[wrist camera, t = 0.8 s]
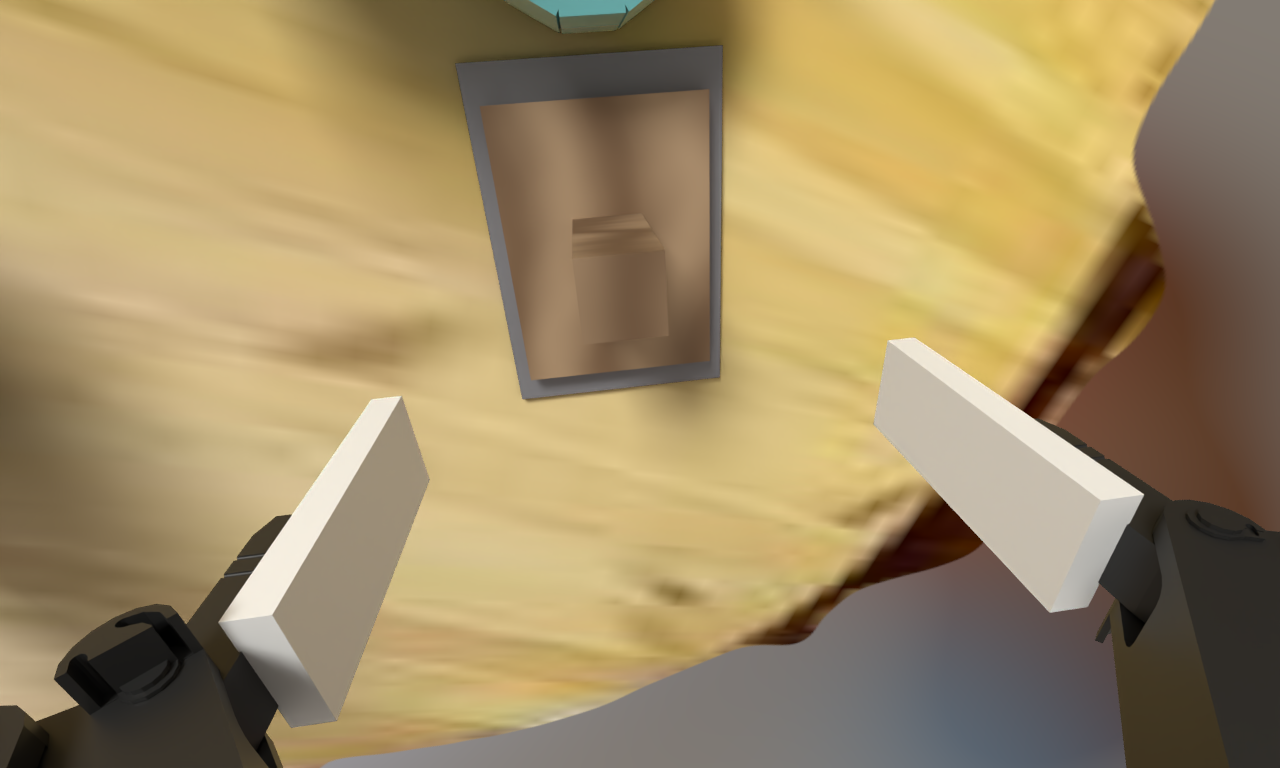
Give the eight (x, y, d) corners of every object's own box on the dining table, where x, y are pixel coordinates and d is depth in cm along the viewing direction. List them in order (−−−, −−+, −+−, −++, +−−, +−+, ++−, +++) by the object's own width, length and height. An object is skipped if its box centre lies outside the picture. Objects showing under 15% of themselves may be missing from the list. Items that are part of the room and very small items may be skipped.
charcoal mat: (522, 396, 37) (522, 399, 36) (456, 63, 27) (455, 63, 27) (718, 374, 38) (719, 377, 37) (720, 45, 28) (722, 45, 28)
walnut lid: (532, 372, 35) (518, 459, 27) (483, 106, 28) (441, 106, 19) (705, 353, 36) (747, 432, 28) (704, 89, 29) (762, 83, 20)
